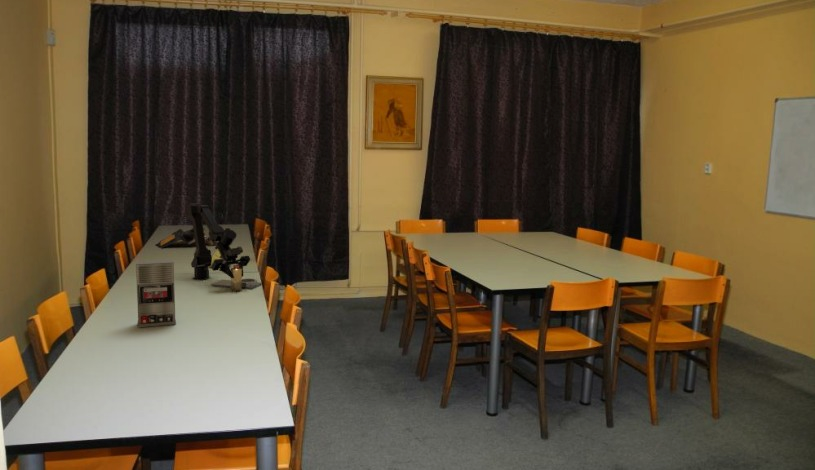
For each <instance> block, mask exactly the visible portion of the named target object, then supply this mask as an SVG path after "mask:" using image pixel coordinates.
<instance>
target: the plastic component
mask: <svg viewBox="0 0 815 470" xmlns="http://www.w3.org/2000/svg"><path fill="white" fill-rule="evenodd" d="M220 256H221V255H220V252H219V250H218V249H216V251H215V252H214V254H213V255H212V262H211V266H212V264H213V262H214V261H215V260H217V259H222V258H220ZM211 266H209V267H208V269H210V268H211ZM211 269H212V268H211Z"/></svg>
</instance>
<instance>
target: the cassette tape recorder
mask: <svg viewBox="0 0 815 470" xmlns="http://www.w3.org/2000/svg"><path fill="white" fill-rule="evenodd" d="M174 264H175V262H174V260H173V259H172V260H171V259H170V260H152V261H151V260H150V261H135V270H136V271H135V272H136V294H137V295H136V297H137V299H136V300H137V328H143V327H144V328H147V327H157V326H171V325H172V326H174V325H176V324H177V321H176V304H175V303H176V301H175V296H176V295H175V265H174Z"/></svg>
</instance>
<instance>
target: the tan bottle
mask: <svg viewBox="0 0 815 470" xmlns="http://www.w3.org/2000/svg"><path fill="white" fill-rule="evenodd" d="M232 266H233V267H230V270H231V272H232V274H233V278H231V277H230V280H231V288H230V291H231V292H232V293H239V292H242V291H243V289H242V279H243V277H242V268H239V265H236V264H233V265H232Z"/></svg>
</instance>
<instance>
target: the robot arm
mask: <svg viewBox="0 0 815 470" xmlns="http://www.w3.org/2000/svg"><path fill="white" fill-rule="evenodd" d="M185 211H186V214H187V216H188V218H189V219H190V221H191V222H192V223H191V224H192V229H193V230H194V237H195V242H194V243H195V251H194V253H193V259H192V261H191V263H190V265H191V267H192V268H194V271H193V273H194V277H193V278H192V280H202V281H204V280H207V279H210V278H211V276H210V270H209V269H210V268H208V267H209V266H211V262H212V257H213V255H212V251H211V249H208V247H207V244H206V242H205V240H206V238H205V237H204V230H203V228H204V225H203V222H204V223H205V225H206V227H207V229H208V237H209V238H210V239H211V241H212V242H217V241H218V242H217V244H216V245H215V247H214V249H215V250H219V252H220V255H221V256H220V258H222V259H217V260H215V261H214V262H213V264H212V266H211V270H212V271H219V272H222V273H224V274H225V275H227V276H228V277H229V278H230V279H231V278H233V274H232V272H231V267H230V266H231V265H232V266H233V265H239V268H242V278H243V277H244V267H246V266H248V264H249V263H250V261H251V260H252V259H251V257H250V256H249V255H242V256H240V258H239V259H238V257H239V255H241V254H242V253H243V252H244V250H243V247H242V246H237V247H235V248H234V247H231V246H232V245H233V243H234V241H235V240H236V238H237V233H236V232H235V231H234V230H232V229H230V227H227V228H225V229H224V228H223V227H222V226H221V225H219V224H218V222H217V220H216V219H215V217H214V215H213V214H212V211H211V210H210V206H209V205H207V204H202V203H201V202H200V203H199V202H198V203H189V204H187V206H186V207H185Z"/></svg>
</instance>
